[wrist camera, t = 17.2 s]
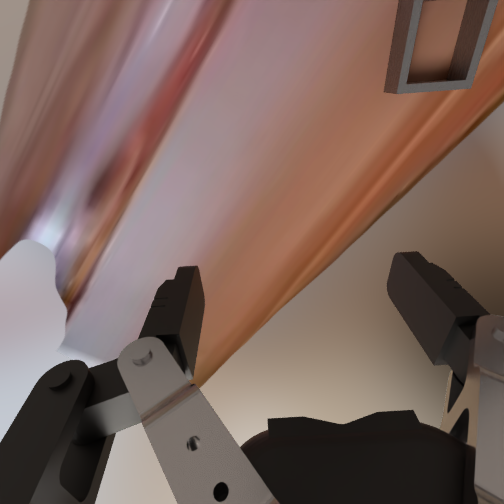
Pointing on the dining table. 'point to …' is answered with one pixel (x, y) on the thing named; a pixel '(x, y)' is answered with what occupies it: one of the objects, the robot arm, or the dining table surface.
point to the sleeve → (465, 52)
